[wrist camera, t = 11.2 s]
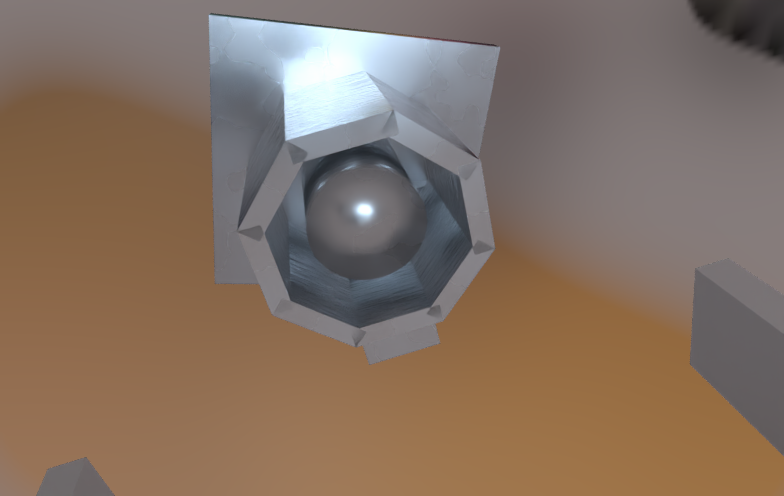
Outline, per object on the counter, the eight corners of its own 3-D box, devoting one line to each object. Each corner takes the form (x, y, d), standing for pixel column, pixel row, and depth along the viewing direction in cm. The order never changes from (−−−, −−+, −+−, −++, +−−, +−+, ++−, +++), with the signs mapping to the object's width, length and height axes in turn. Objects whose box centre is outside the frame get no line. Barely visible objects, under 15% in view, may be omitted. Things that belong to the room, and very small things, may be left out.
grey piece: (226, 108, 23) (207, 162, 17) (420, 54, 24) (469, 88, 17) (306, 314, 28) (313, 412, 22) (463, 267, 29) (512, 351, 23)
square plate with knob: (216, 275, 27) (198, 362, 22) (211, 13, 22) (185, 33, 16) (449, 279, 30) (491, 358, 24) (494, 44, 25) (561, 71, 19)
